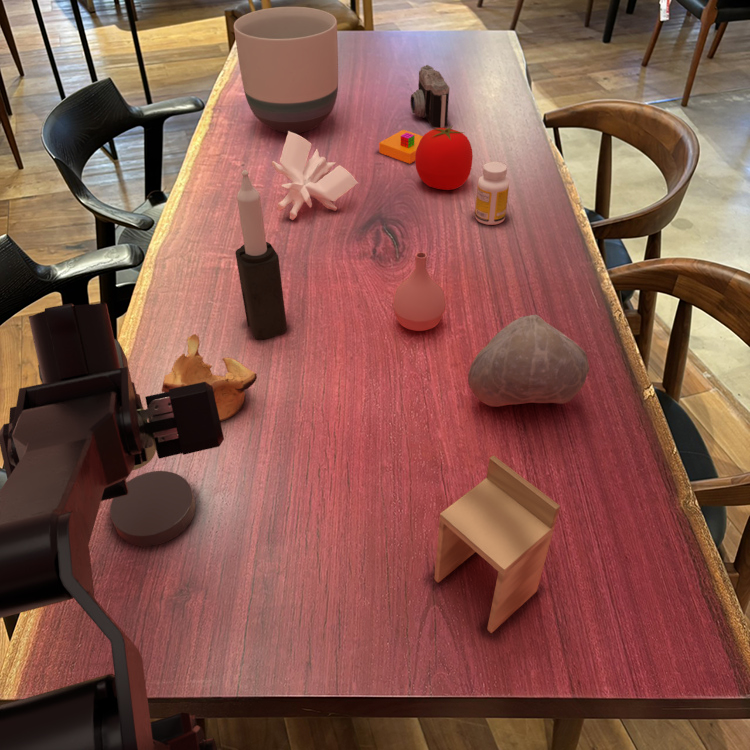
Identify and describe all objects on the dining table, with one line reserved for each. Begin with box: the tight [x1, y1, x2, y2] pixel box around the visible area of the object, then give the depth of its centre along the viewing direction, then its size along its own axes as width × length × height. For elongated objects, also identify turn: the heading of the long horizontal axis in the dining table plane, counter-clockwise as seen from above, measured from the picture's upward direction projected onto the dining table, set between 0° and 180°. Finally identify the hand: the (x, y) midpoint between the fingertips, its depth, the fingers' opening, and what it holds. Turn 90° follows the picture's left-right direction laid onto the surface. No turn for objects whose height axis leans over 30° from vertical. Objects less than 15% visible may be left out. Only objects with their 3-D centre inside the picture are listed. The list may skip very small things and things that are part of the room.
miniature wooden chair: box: [433, 455, 561, 634], centre depth 69 cm, size 7×8×14 cm
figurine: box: [271, 131, 359, 221], centre depth 130 cm, size 15×12×14 cm
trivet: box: [109, 470, 196, 547], centre depth 81 cm, size 9×9×2 cm
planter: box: [233, 6, 339, 134], centre depth 149 cm, size 20×20×21 cm
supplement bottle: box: [474, 161, 510, 226], centre depth 124 cm, size 5×5×10 cm
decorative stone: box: [467, 314, 590, 408], centre depth 88 cm, size 15×10×15 cm
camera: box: [410, 64, 450, 129], centre depth 157 cm, size 15×7×10 cm, turn 12°
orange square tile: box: [378, 129, 424, 164], centre depth 146 cm, size 8×8×4 cm
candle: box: [235, 169, 288, 341], centre depth 97 cm, size 5×5×25 cm
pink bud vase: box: [391, 251, 447, 332], centre depth 102 cm, size 8×8×12 cm
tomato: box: [414, 125, 474, 191], centre depth 133 cm, size 10×11×11 cm
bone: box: [161, 333, 258, 422], centre depth 92 cm, size 12×10×8 cm
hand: (128, 433), depth 73 cm, fingers closed on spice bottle, 5 cm apart
